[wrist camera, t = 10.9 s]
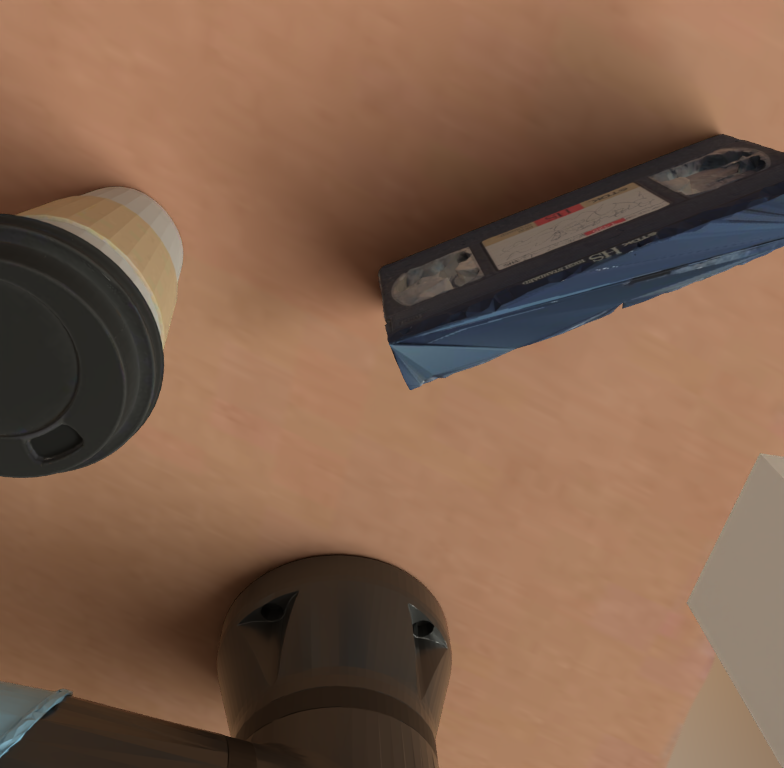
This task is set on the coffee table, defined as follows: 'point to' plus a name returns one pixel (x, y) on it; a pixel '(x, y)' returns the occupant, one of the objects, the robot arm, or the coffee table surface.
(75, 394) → the coffee cup
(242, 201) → the coffee table surface
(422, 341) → the vhs cassette tape
